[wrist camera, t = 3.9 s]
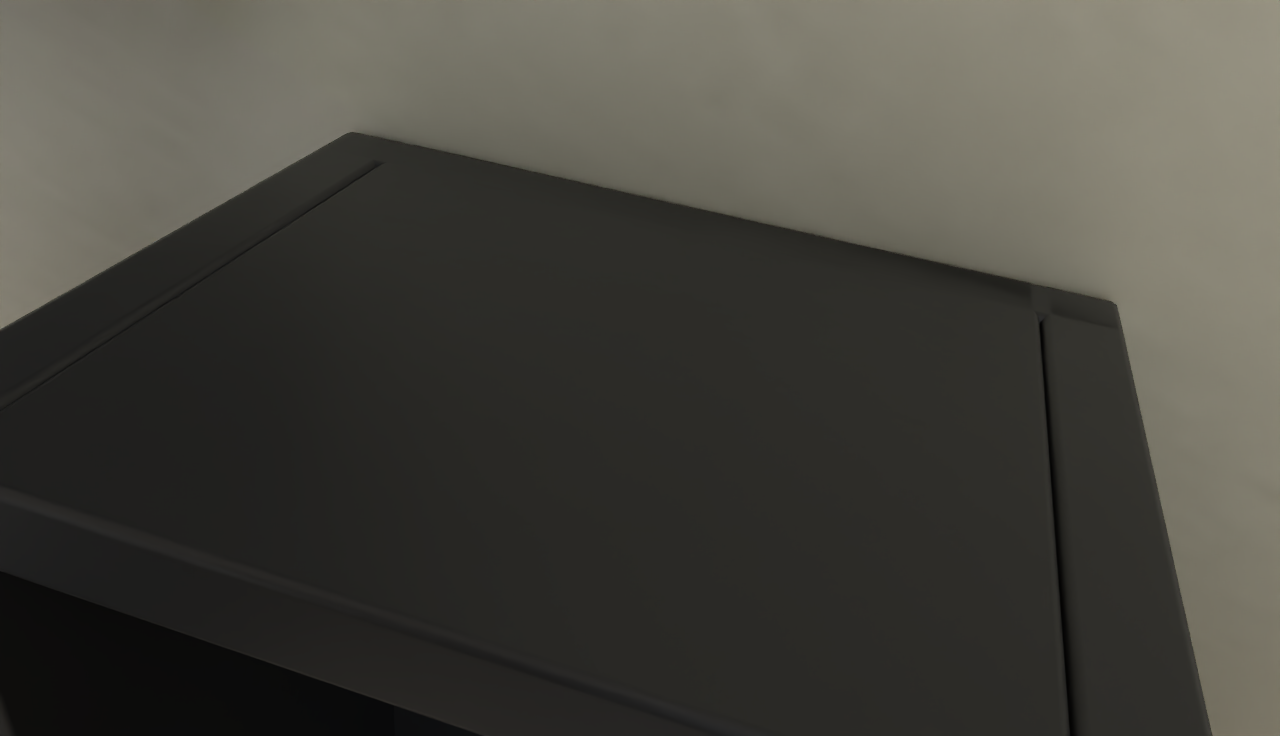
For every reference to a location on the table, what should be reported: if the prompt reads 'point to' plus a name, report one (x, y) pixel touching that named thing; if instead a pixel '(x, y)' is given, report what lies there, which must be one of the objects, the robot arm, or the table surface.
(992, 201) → the table surface
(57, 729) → the black bin
